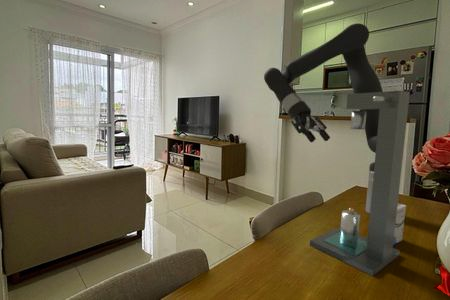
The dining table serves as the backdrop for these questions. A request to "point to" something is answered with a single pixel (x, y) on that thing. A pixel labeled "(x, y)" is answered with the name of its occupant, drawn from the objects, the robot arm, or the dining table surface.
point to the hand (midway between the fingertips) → (321, 140)
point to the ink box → (399, 223)
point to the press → (376, 183)
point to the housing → (349, 227)
